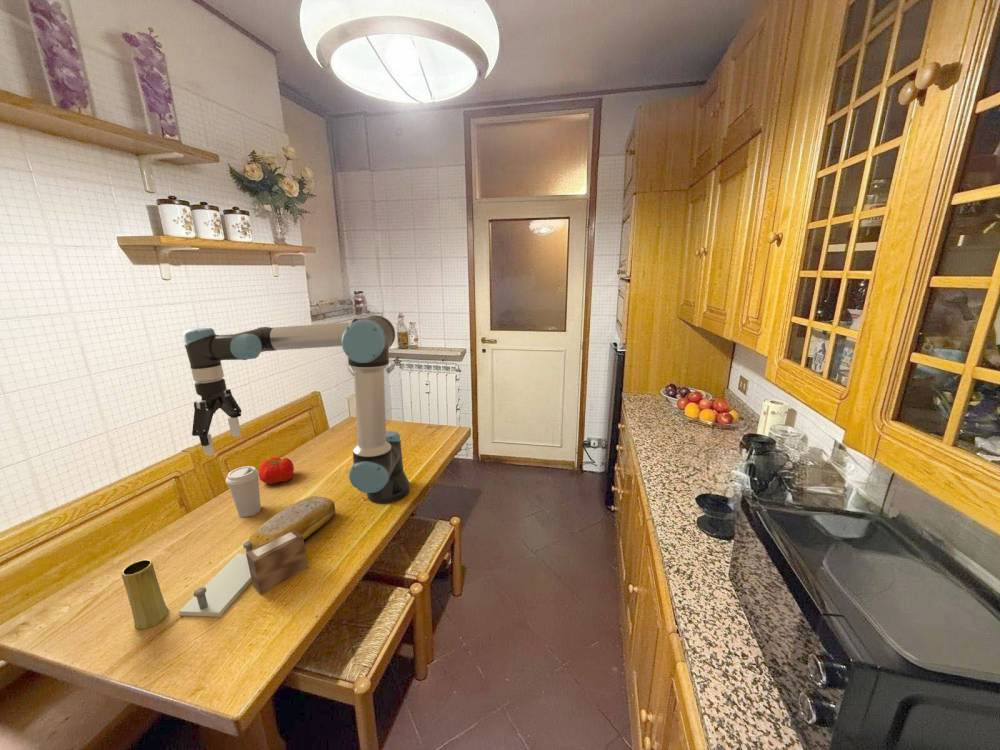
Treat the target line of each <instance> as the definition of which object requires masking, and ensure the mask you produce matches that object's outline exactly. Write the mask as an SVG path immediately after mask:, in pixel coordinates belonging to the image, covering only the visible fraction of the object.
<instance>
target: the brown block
mask: <svg viewBox="0 0 1000 750" xmlns="http://www.w3.org/2000/svg"><path fill="white" fill-rule="evenodd" d="M304 540H305V539H304ZM304 540H303V536H302V535H301V534H299V533H298V532H297V531H296V530H294V529H293V530H291V531H289V532H287V533H285V534H283V535H281V536H279V537H277V538H275V539H273V540H271V541H269V542H267V543H265V544H263V545H261V546H259V547H257V548H255V549H253V550H251V551H249V552H247V553H245V554H246V556H247V561H248V566H249V570H250V575H251V579H252V581H251V583H252V587H253V588H254V589H255V590H256V592H258V594H259V595H260V596H262V595H264V594H266V593H267V592H269V591H271V590H273V589H274V588H276V587H278V586H279V585H281V584H283V583H284V582H287V581H288V580H290V579H291V578H293V577H296V576H297V575H298V574H300V573H302V572H303V571H306V569H309V564H308V560H307V554H306V553H307V552H306V547H305V542H304Z"/></svg>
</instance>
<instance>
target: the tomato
mask: <svg viewBox="0 0 1000 750" xmlns="http://www.w3.org/2000/svg"><path fill="white" fill-rule="evenodd" d="M294 469H295V466H294V463H293V462H292V460H291V459H290V458H288V457H282V458H280V457H277V456H275V457H270V458H269V459H267V460H264V461H263V462H262V464H260V467H259V470H258V471H259V476H258V479H260V481H261V482H263V483H264V484H270V485H271V484H272V485H274V484H278V483H279V482H287V481H289V480H290V479H292V477H293V476H294Z"/></svg>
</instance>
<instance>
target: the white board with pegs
mask: <svg viewBox="0 0 1000 750" xmlns="http://www.w3.org/2000/svg"><path fill="white" fill-rule="evenodd" d="M242 546H243V548H244V549H245V552H246V553H247V552H249V551H251V550H252V547H251V546H252V544H251V543H250V542H249V540H247V541H245V542H244V543H243V545H242ZM246 553H239V552H238V553H237V554H235V556H233V557H232V558H231V560H229V561H228V563H226V564H225V566H223V568H221V569H220V570H219V571H218V572H217V573H216V574H215V575H214V576H213V577H211V579H210V580H209V581H208V582H207V583H206V584H205V585H204V586H202V587H200V588H197V589H196V590H194V591H193V593H192V594H193V597H192V598H191V599H190V600H189V601H188V602H187V603H186V604H185V605H184V606H183V607H182V608H180V609H179V610H178V613H179V616H183V617H184V616H185V617H187V616H188V617H213V618H214V617H216V618H218V617H219V618H220V617H221V616H222V615H223V614H224V613H225V612H226V611H227V610H228V608H230V606H232V604H233V603H234V601H235V600H237V598H238V597H239V596H240V595H241V593H242V592H244V591H245V589H246V588H247V587H248V586H249V585H250V583H252V579H251V575H250V570H249V566H248V561H247V556H246Z"/></svg>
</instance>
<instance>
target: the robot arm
mask: <svg viewBox="0 0 1000 750" xmlns="http://www.w3.org/2000/svg"><path fill="white" fill-rule="evenodd" d="M395 339H396V329H395V326H394V325H393V323H392V322H391V321H390V320H389V319H387V318H386V317H384V316H381V315H369V316H366V317H361V318H353V319H352V320H351V321H350V322H349V321H347V322H335V323H321V324H306V325H291V326H275V327H271V326H261V327H257V328H255V329H251V330H247V331H246V330H245V331H242V332H238V333H233V334H216V333H215V329H214V328H212V327H200V328H193V329H192V328H191V329H186V330H185V331H184V332H183V340H184V348H185V350H186V355H187V358H188V360H189V365H190V369H191V370H190V371H191V374H192V378H193V381H194V382H195V383H194V388H195V391H196V395H198V396H199V397H201V400H200V401H193V408H194V412H193V413H194V414H193V420H192V421H193V422H192V423H193V424H192V432H191V435H192V436H193V437H199V440H200V441H199V442H200V445H201V447H202V451H203V455H204V456H214V455H216V451H215V447H214V441H213V437H212V433H209V432H210V427H211V425H212V420H213V417H214V414H216V412H217V411H218V410H219V409H220V410H222V412H224V413H225V414H226V415H227V416H228V417H227V420H228V426H229V430H230V434H231V437H232V438H239V437H242V433H241V432H242V431H241V426H240V422H239V417H241V416H242V409H241V407H240V406H239V404H238V403H237V401H236V399H235V397H234V396H233V393H232V390H231V389H229V388H227V384H226V379H224V377H225V374H224V370H223V365H222V361H237V360H238V361H239V360H241V361H246V360H254V359H256V358H258V357H259V356H260V354H261V353H265V352H274V351H285V350H300V349H302V350H303V349H316V348H318V349H320V348H332V347H333V348H334V347H342V350H343V352H344V354H345V356H347V362H348V363H347V364H348V366H349V368H351V369H352V370H353V372H354V373H353V376H354V393H355V395H354V397H355V411H356V412H355V413H356V436H357V443H356V444H355V445H354V446H353V448H352V458H353V459H352V462H353V465H352V466H351V468H350V469H349V473H348V478H349V479H348V480H349V481H350V483H351V485H352V486H353V487H354V488H356V489H357V491H360V492H362V493H366V497H367V499H368V501H370V502H372V503H375V504H390V503H394V502H398V501H400V500H402V499H404V498H405V497H406V496H408V495H409V493H410V490H411V486H410V485H411V484H410V481H409V479H408V476H407V475H406V473H405V470H404V466H403V465H404V462H403V454H402V453H403V452H402V439H401V435H400V433H399V432H397V431H395V430H387V427H386V426H387V425H386V423H387V421H386V394H385V392H386V390H385V386H386V385H385V369H386V368H387V367H388V366H389V365H390V348H391V347H392V346H393V344H394V343H395Z"/></svg>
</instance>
